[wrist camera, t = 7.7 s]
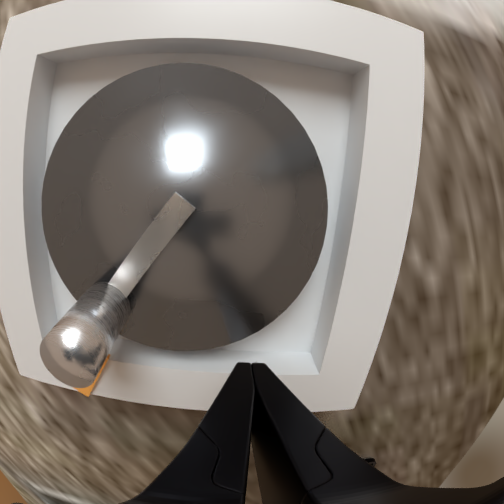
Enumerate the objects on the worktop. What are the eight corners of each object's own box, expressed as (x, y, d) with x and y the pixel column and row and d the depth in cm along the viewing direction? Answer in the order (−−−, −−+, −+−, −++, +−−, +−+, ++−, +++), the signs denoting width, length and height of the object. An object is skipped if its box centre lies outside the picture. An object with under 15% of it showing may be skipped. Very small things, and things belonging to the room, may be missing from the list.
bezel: (391, 48, 12) (426, 30, 9) (338, 374, 17) (355, 412, 14) (40, 33, 10) (6, 16, 7) (42, 346, 15) (18, 377, 12)
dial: (168, 28, 10) (131, -45, 4) (366, 197, 13) (448, 228, 7) (26, 229, 12) (-54, 270, 6) (203, 368, 15) (195, 460, 9)
